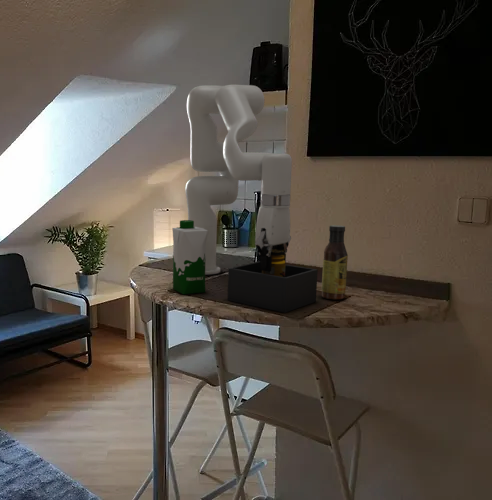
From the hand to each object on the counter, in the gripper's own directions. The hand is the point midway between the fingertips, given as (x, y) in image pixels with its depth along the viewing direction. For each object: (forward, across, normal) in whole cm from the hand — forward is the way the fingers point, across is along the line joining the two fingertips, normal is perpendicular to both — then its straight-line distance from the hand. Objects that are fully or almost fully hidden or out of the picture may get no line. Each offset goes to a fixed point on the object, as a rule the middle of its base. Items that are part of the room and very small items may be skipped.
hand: (272, 268), depth 154 cm
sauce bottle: (+9, -15, +10) cm, 20 cm away
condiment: (+7, +1, 0) cm, 7 cm away
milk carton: (+9, +7, -23) cm, 26 cm away
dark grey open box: (+9, 0, 0) cm, 9 cm away
